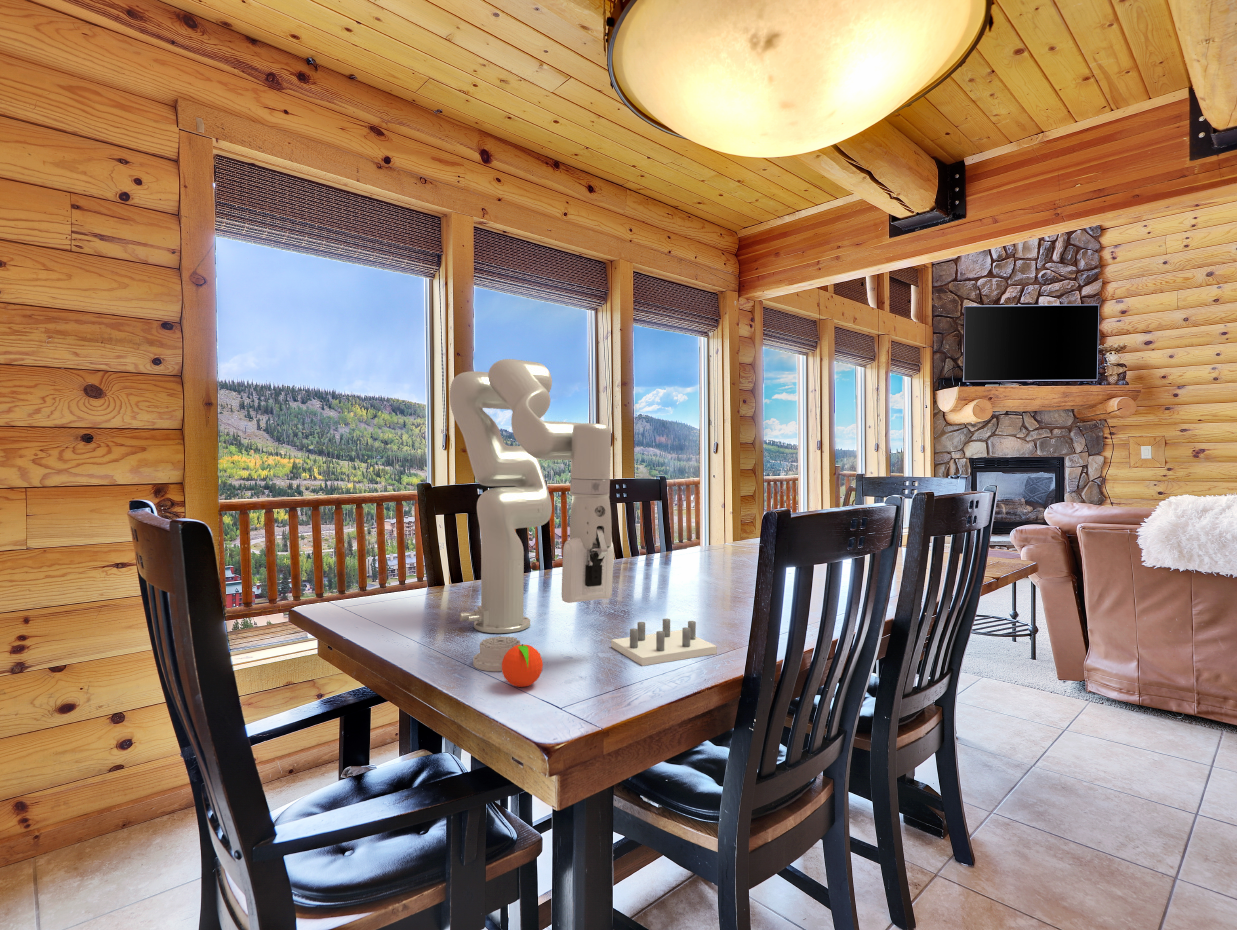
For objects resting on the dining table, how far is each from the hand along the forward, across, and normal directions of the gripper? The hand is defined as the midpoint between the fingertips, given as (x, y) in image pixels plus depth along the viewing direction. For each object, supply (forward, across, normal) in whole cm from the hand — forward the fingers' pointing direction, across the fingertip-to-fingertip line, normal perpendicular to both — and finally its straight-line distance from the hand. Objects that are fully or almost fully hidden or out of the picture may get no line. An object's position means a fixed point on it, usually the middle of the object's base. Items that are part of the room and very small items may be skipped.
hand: (587, 581), depth 124 cm
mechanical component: (+16, +4, +16) cm, 22 cm away
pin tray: (+15, -2, -16) cm, 22 cm away
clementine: (+15, -9, +16) cm, 24 cm away
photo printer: (+4, 0, 0) cm, 4 cm away
